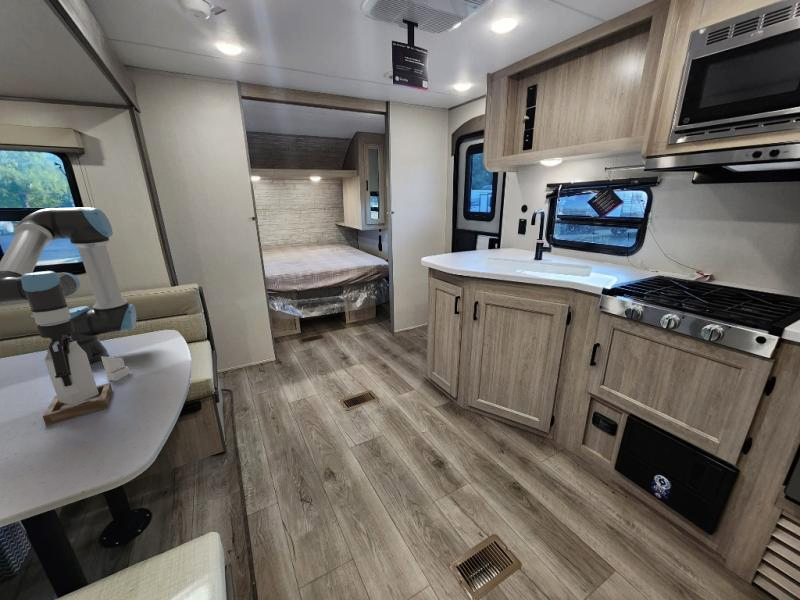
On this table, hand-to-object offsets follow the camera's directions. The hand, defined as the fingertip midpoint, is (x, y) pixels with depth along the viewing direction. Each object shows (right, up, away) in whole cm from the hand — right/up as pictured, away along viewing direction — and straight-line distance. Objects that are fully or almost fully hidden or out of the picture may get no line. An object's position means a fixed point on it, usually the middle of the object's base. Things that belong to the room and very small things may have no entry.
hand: (75, 387), depth 104 cm
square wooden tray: (0, -7, +2) cm, 7 cm away
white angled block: (-4, -2, +21) cm, 22 cm away
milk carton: (0, -4, +1) cm, 4 cm away
